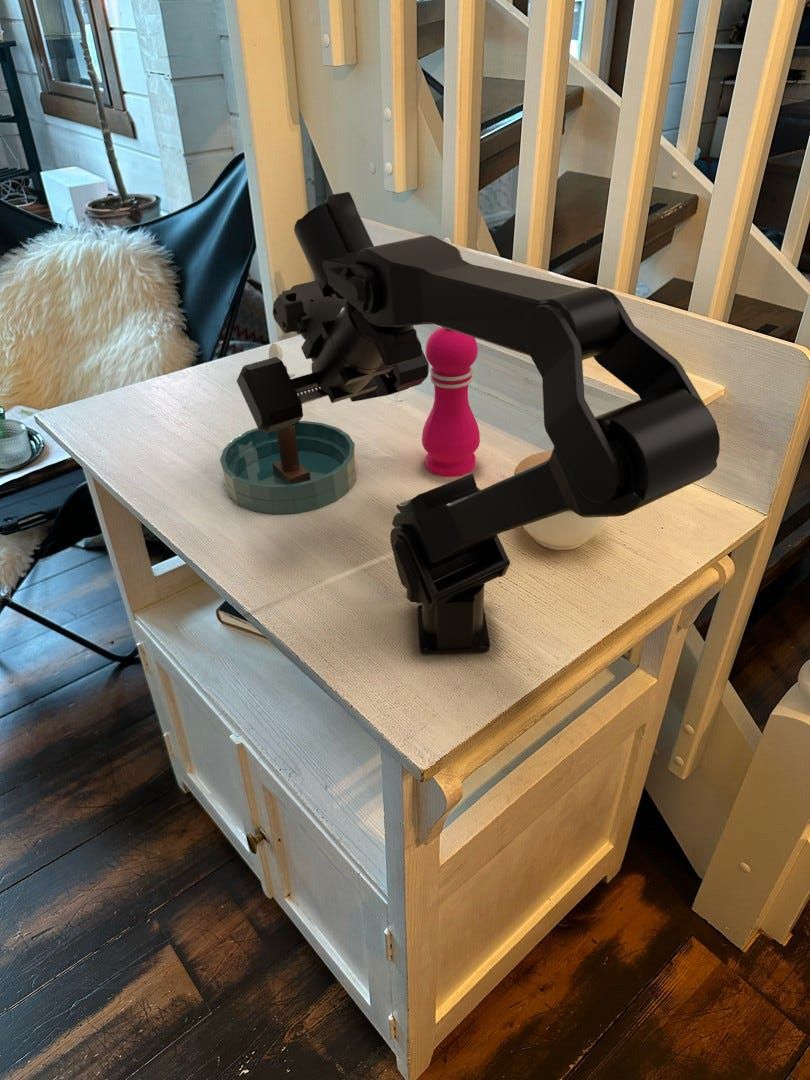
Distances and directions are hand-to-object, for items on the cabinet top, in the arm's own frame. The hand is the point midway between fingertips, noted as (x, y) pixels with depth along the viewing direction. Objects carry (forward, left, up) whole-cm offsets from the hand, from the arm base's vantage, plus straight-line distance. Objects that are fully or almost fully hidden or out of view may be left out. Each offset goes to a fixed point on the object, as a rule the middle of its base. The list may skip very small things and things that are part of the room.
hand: (314, 408), depth 81 cm
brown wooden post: (+7, +5, -13) cm, 15 cm away
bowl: (+7, +5, -14) cm, 16 cm away
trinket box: (-6, -26, -14) cm, 30 cm away
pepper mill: (+9, -15, -14) cm, 23 cm away
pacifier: (+37, +11, -14) cm, 41 cm away
